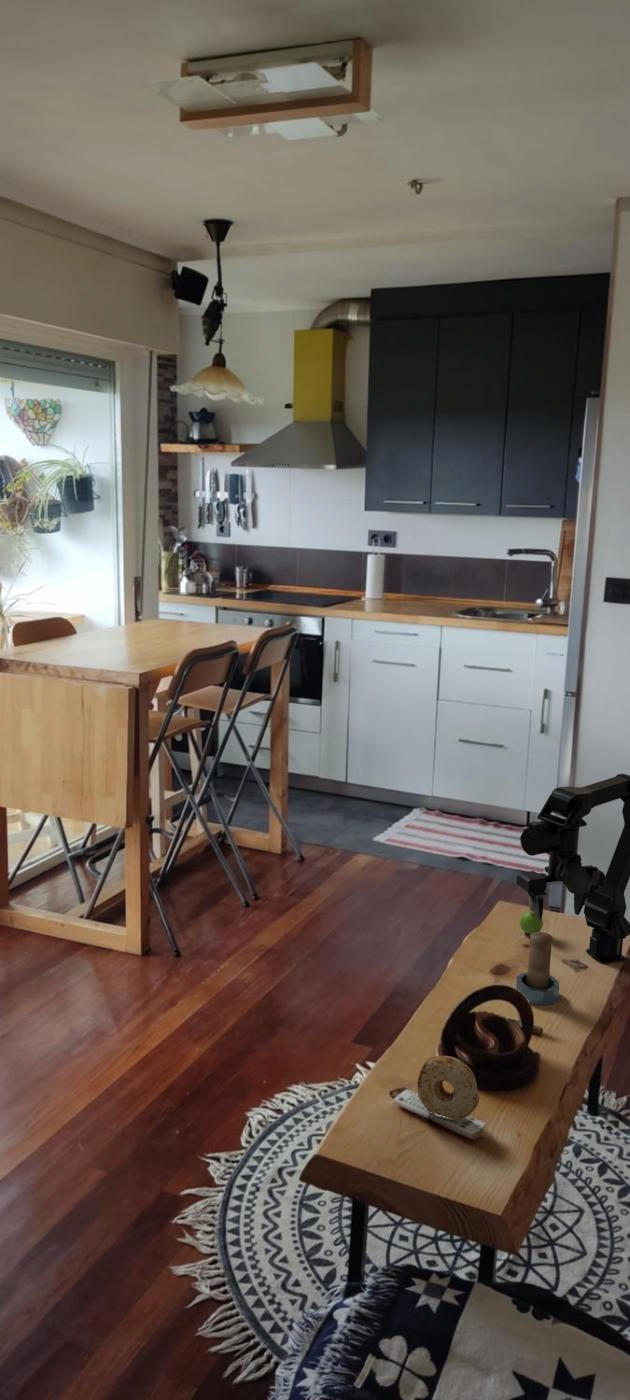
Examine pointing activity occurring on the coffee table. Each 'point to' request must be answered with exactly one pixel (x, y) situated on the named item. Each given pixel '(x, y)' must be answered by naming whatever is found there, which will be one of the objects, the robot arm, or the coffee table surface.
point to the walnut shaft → (539, 960)
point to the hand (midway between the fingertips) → (558, 916)
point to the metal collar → (538, 991)
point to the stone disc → (437, 1097)
